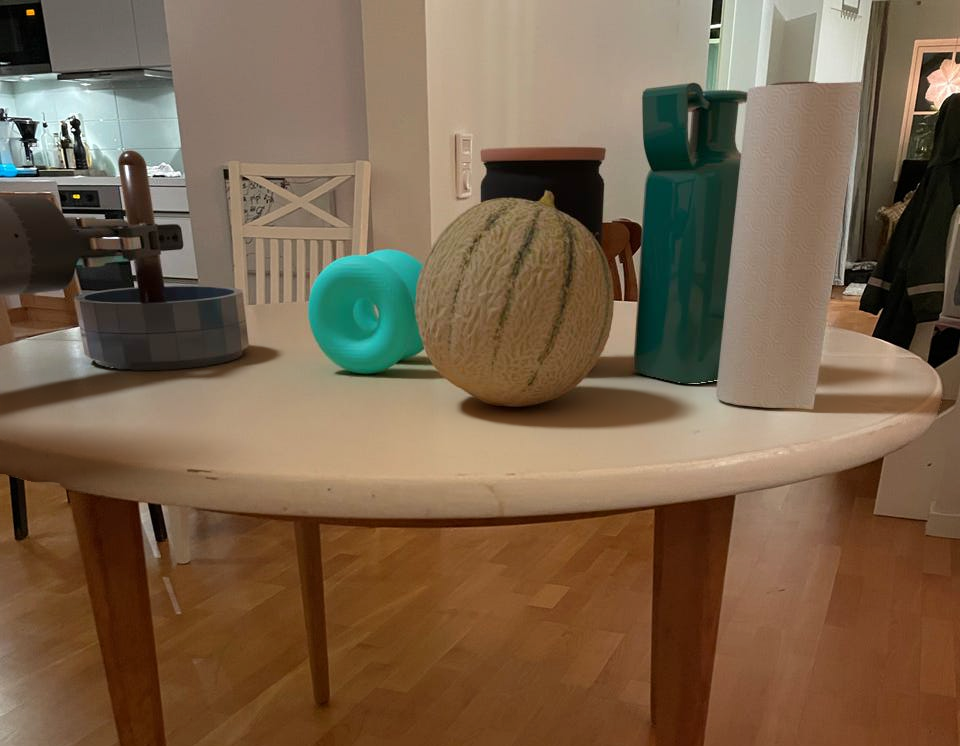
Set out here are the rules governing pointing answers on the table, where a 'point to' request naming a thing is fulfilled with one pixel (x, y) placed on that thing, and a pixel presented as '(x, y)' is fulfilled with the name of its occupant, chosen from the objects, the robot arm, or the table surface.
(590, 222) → the coffee jar
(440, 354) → the cantaloupe
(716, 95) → the pitcher
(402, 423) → the table surface
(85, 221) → the robot arm
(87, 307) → the bowl
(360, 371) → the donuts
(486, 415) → the table surface
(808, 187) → the paper towel roll
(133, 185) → the wooden masher
